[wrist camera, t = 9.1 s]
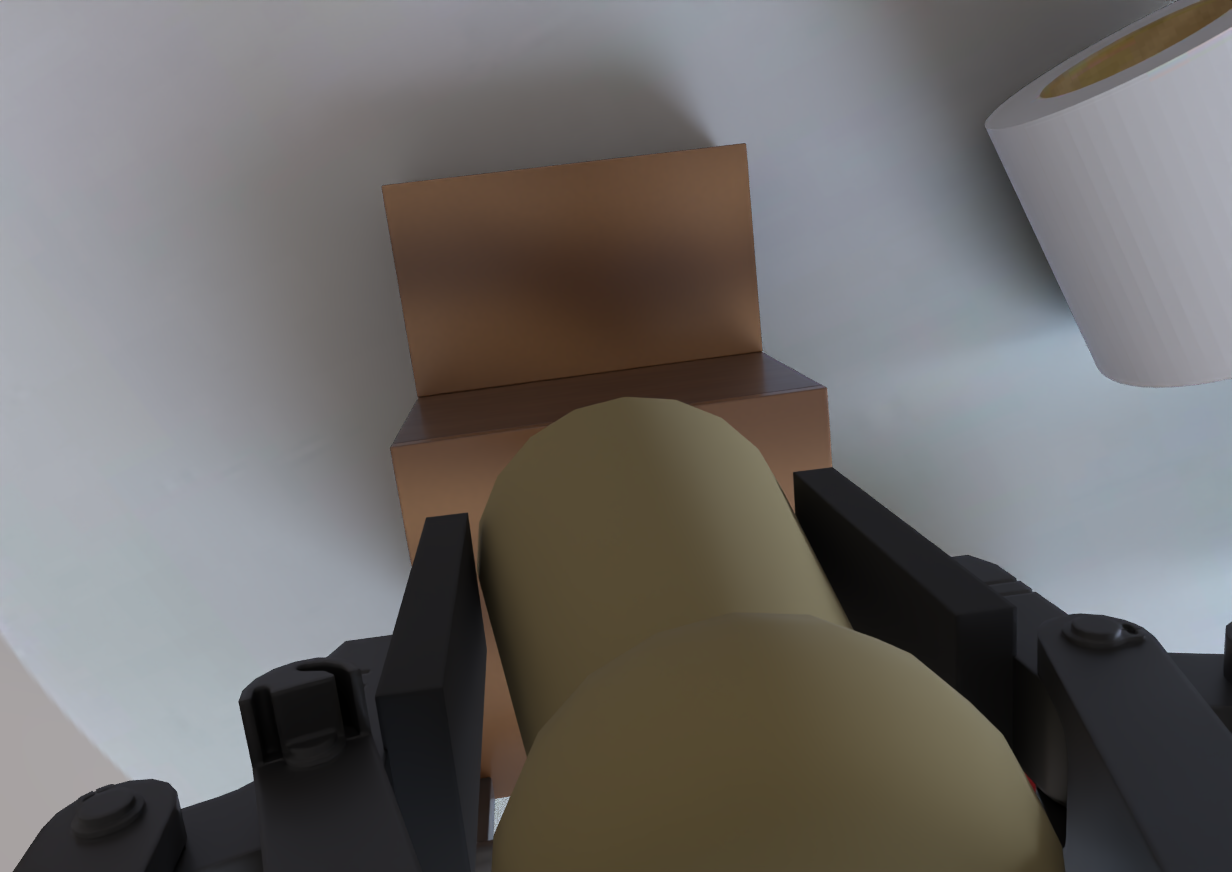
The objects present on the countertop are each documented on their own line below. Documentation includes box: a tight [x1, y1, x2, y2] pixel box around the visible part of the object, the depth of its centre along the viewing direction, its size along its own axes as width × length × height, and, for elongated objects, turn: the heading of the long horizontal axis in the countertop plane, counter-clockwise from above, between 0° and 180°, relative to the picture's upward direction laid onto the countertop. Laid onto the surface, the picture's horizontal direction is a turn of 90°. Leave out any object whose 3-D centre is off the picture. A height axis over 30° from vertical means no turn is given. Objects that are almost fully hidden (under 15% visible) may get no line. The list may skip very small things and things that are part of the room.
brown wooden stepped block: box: [382, 143, 832, 872], centre depth 29 cm, size 18×12×15 cm, turn 7°
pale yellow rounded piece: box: [477, 397, 1065, 872], centre depth 12 cm, size 6×6×11 cm
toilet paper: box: [985, 0, 1232, 388], centre depth 31 cm, size 10×10×10 cm
